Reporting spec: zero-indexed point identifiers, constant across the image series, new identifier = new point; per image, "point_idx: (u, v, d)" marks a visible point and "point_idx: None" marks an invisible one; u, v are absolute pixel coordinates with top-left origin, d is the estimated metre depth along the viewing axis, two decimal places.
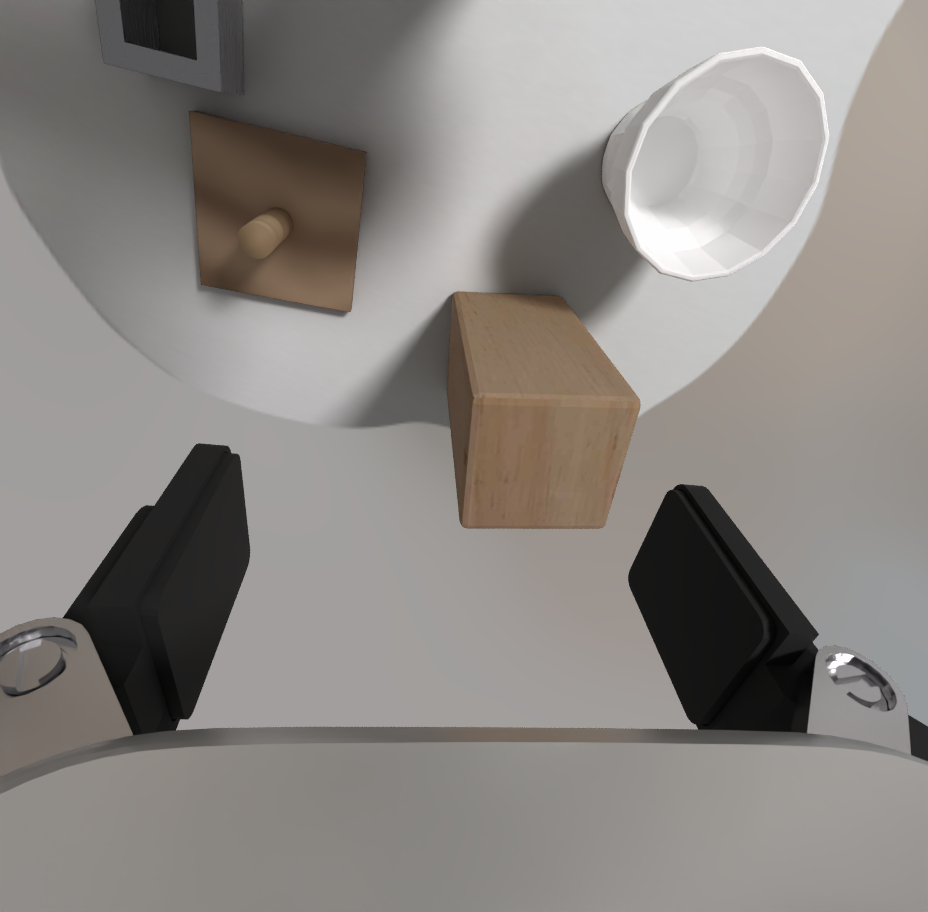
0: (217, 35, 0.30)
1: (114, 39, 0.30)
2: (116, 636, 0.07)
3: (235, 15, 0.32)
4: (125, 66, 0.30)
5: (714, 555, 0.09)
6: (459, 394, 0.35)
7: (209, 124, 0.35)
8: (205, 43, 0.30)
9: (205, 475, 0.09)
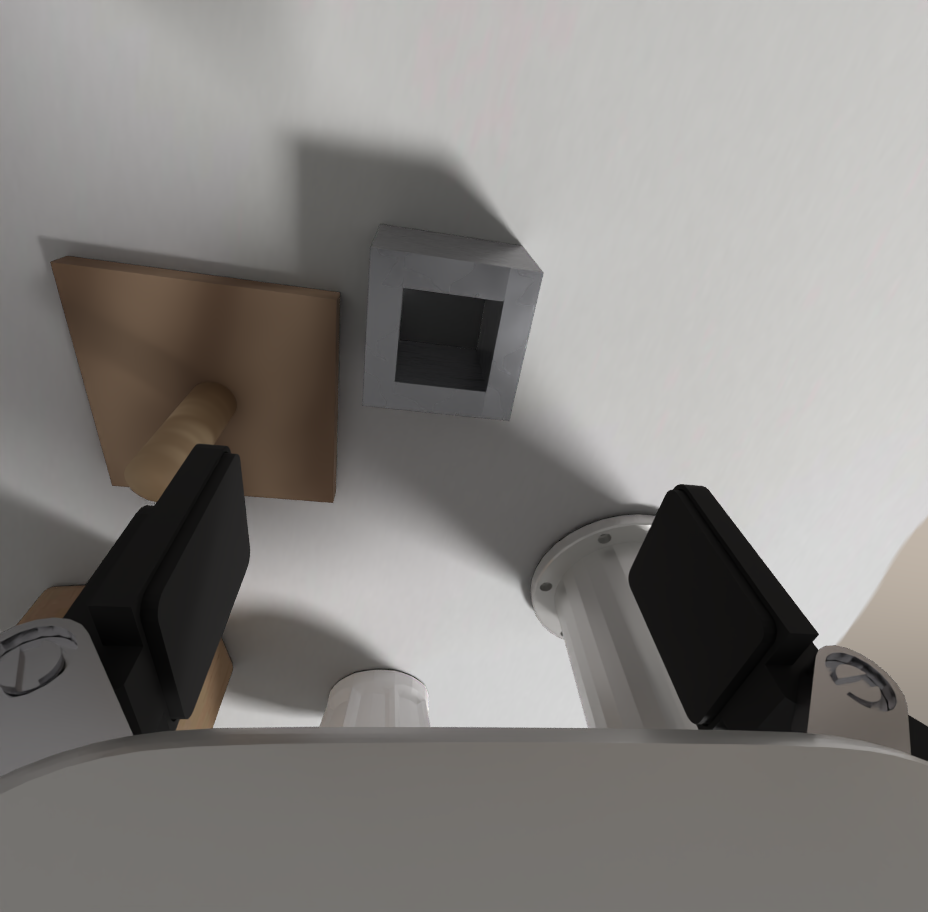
0: (425, 411, 0.23)
1: (404, 273, 0.19)
2: (116, 636, 0.07)
3: None
4: (371, 280, 0.19)
5: (714, 555, 0.09)
6: None
7: (325, 325, 0.24)
8: (415, 395, 0.22)
9: (205, 475, 0.09)
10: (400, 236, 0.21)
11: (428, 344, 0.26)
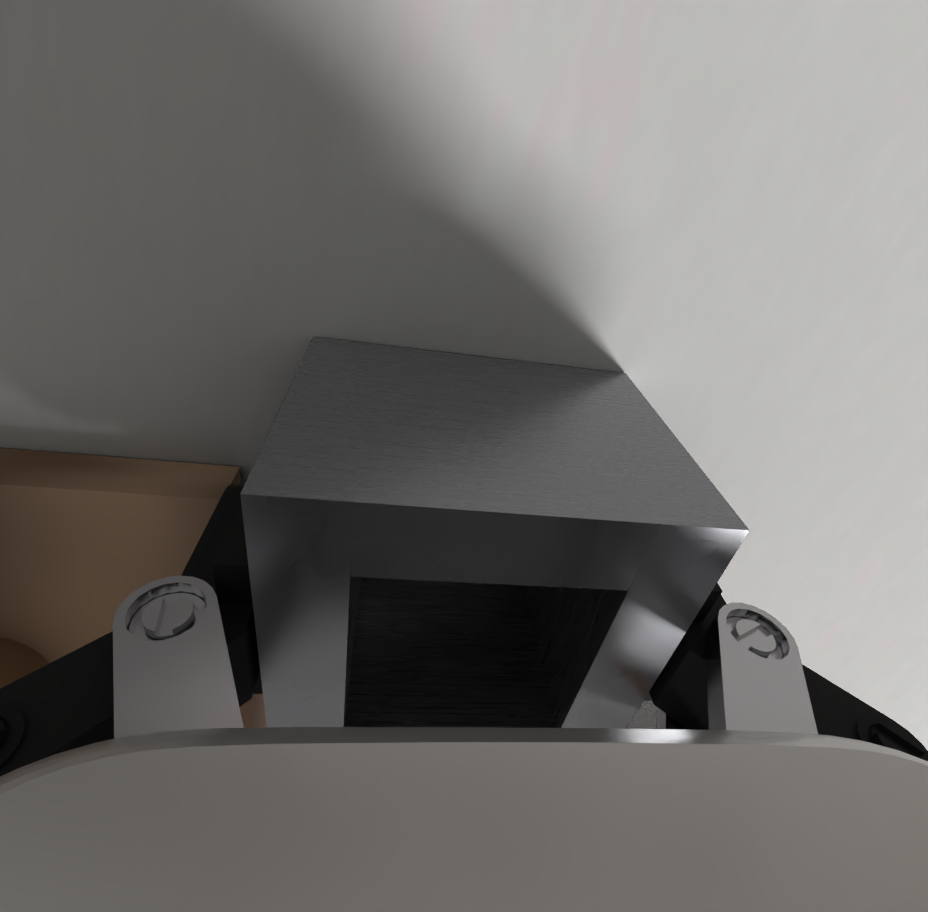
0: None
1: (351, 547, 0.07)
2: (232, 593, 0.07)
3: None
4: (257, 565, 0.07)
5: None
6: None
7: None
8: None
9: None
10: (352, 391, 0.08)
11: None
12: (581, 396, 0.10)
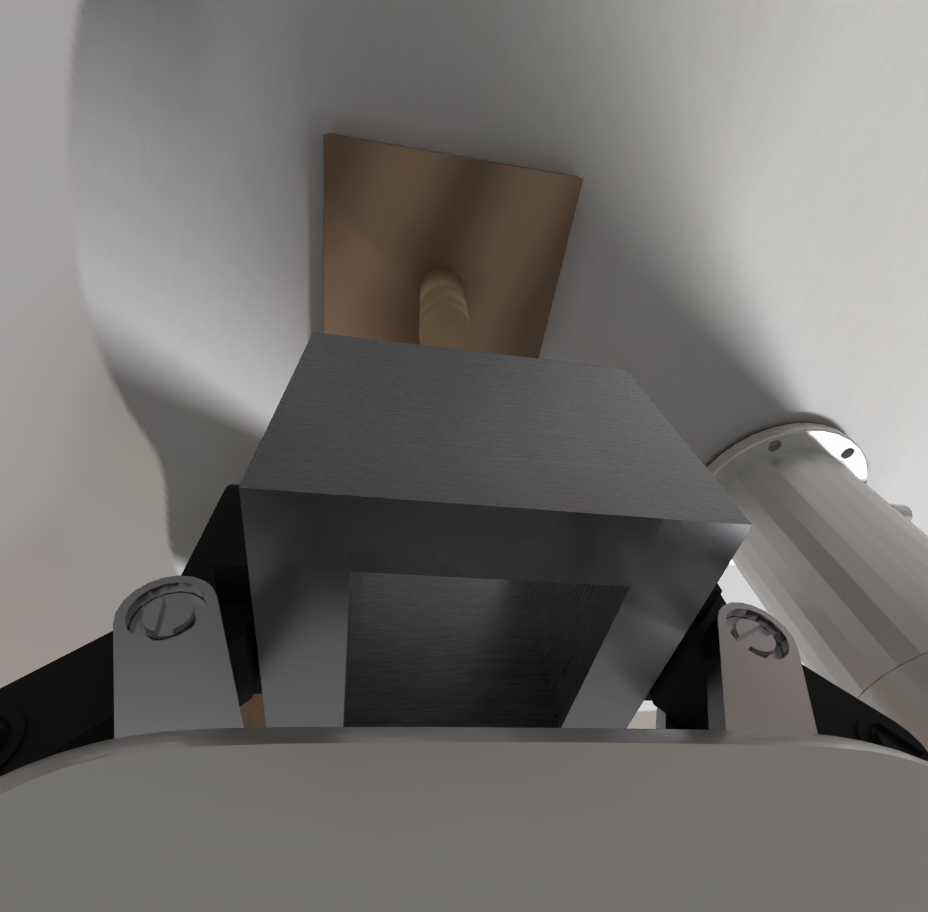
0: None
1: (351, 542, 0.06)
2: (232, 594, 0.07)
3: None
4: (256, 560, 0.07)
5: None
6: None
7: (565, 207, 0.25)
8: None
9: None
10: (352, 386, 0.08)
11: None
12: (583, 391, 0.10)
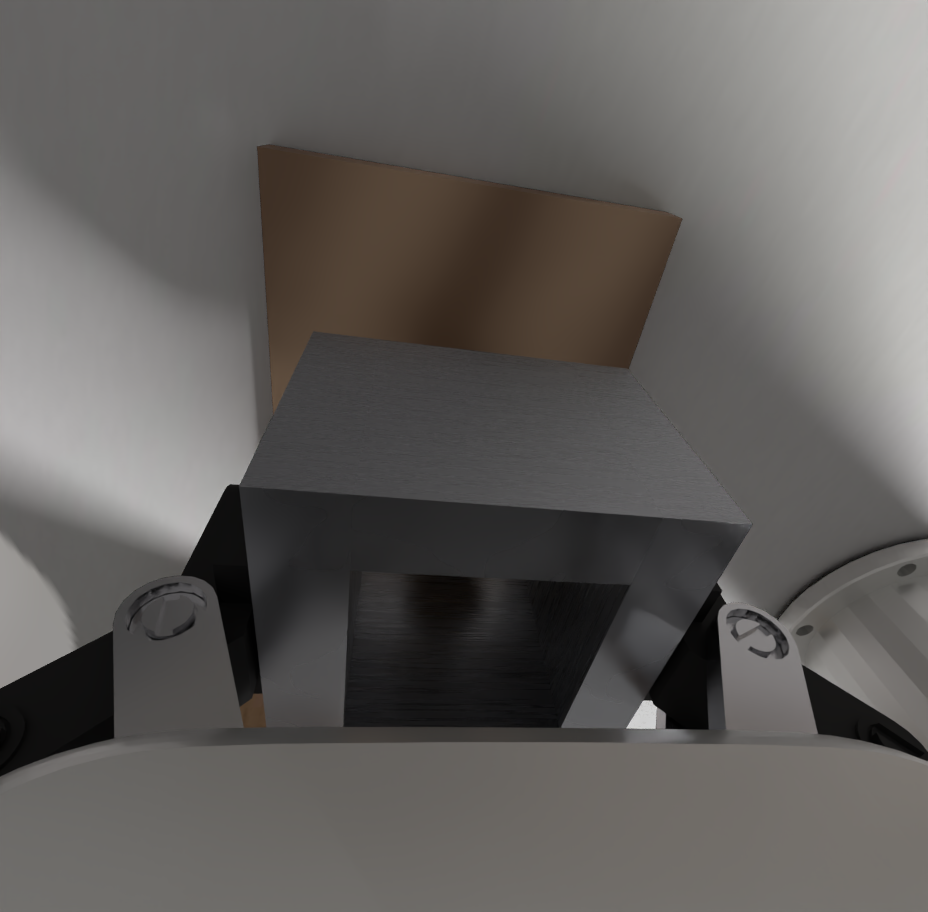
0: None
1: (351, 541, 0.06)
2: (232, 593, 0.07)
3: None
4: (256, 559, 0.07)
5: None
6: None
7: (650, 261, 0.16)
8: None
9: None
10: (352, 385, 0.08)
11: None
12: (582, 391, 0.10)
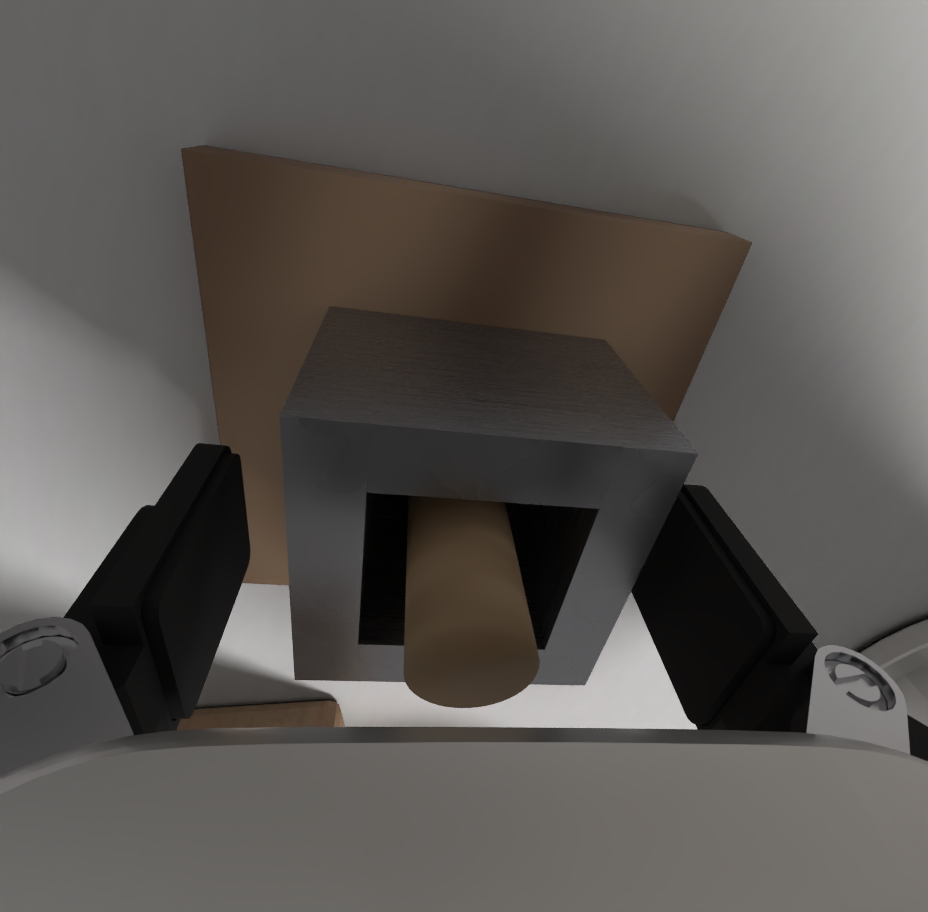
0: None
1: (368, 465, 0.08)
2: (117, 636, 0.07)
3: None
4: (290, 481, 0.08)
5: (713, 554, 0.09)
6: None
7: (707, 296, 0.12)
8: (401, 660, 0.11)
9: (206, 475, 0.09)
10: (365, 347, 0.10)
11: None
12: (564, 356, 0.11)
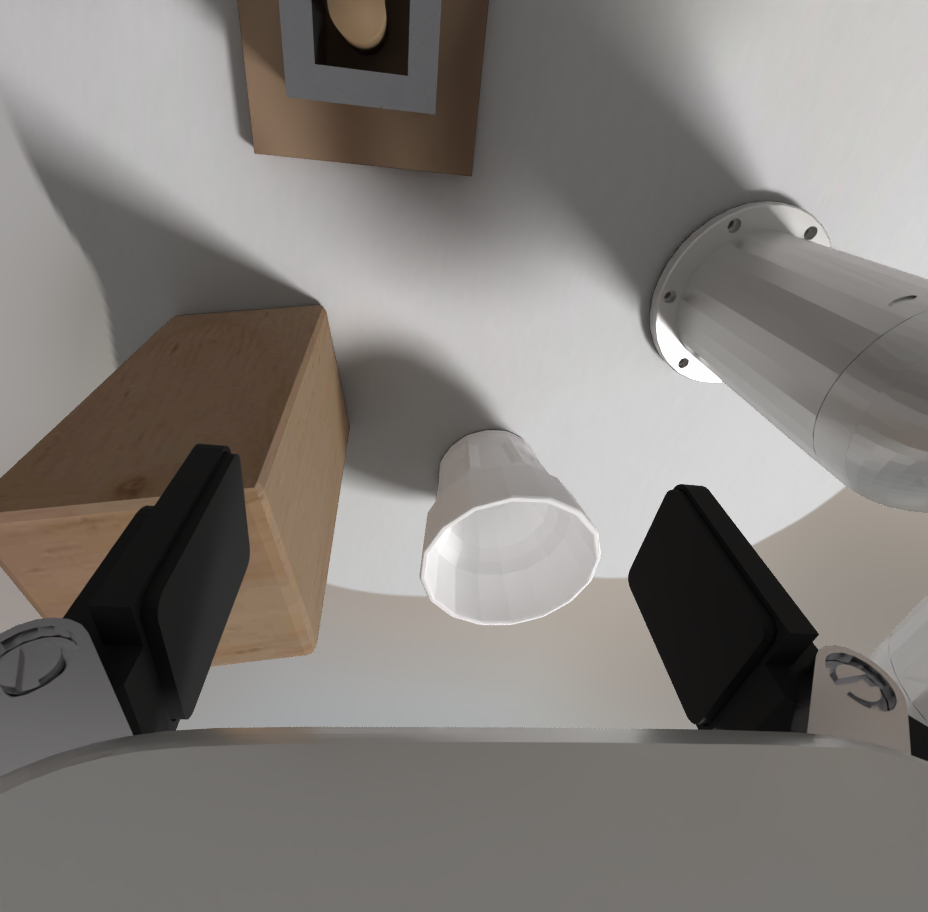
0: (350, 103, 0.23)
1: None
2: (116, 636, 0.07)
3: None
4: None
5: (714, 555, 0.09)
6: (215, 403, 0.23)
7: None
8: (337, 81, 0.22)
9: (205, 475, 0.09)
10: None
11: None
12: None
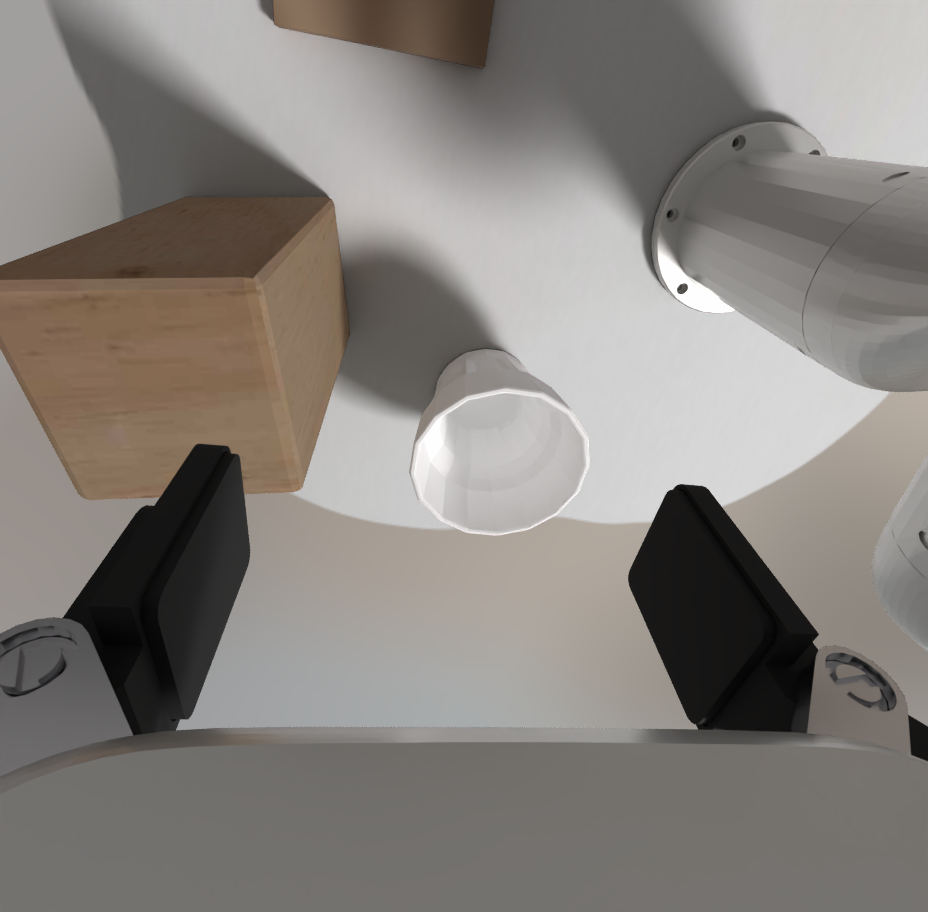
0: None
1: None
2: (116, 636, 0.07)
3: None
4: None
5: (714, 555, 0.09)
6: (220, 236, 0.23)
7: None
8: None
9: (205, 475, 0.09)
10: None
11: None
12: None
